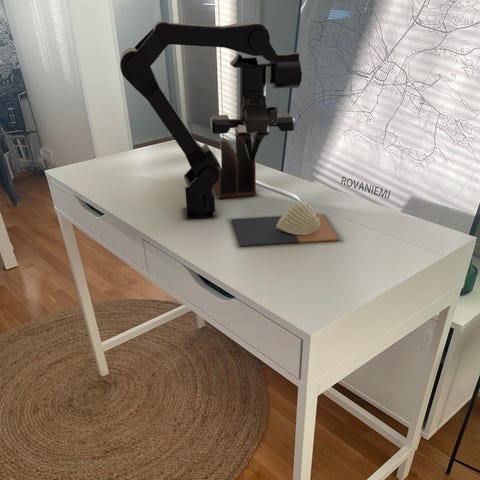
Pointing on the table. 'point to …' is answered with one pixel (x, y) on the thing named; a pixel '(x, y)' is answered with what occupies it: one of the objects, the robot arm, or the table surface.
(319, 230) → the desk pad
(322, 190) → the table surface
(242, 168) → the letter holder
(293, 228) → the seashell
